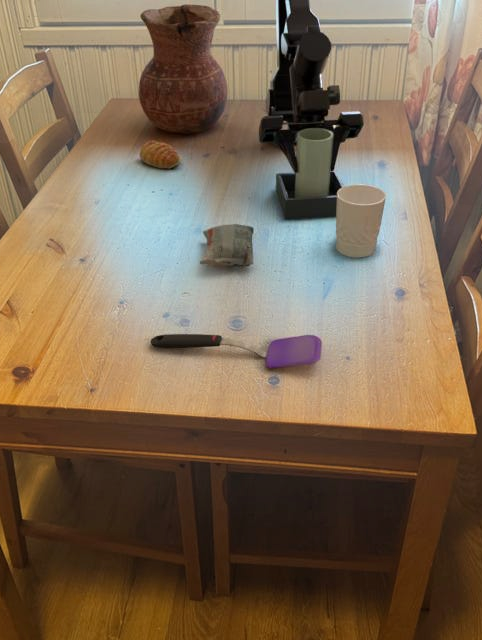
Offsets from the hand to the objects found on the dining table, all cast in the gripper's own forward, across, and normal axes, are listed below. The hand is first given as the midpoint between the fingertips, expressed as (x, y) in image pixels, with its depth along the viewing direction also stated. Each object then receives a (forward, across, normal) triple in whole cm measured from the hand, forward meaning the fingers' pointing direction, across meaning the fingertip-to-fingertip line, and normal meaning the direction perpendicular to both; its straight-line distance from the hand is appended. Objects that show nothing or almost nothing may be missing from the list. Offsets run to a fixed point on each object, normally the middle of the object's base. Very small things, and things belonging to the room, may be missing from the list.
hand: (314, 171), depth 126 cm
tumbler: (+4, 0, +6) cm, 7 cm away
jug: (-29, -22, +40) cm, 54 cm away
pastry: (-13, -28, +24) cm, 39 cm away
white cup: (+17, +4, -6) cm, 19 cm away
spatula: (+36, -19, -25) cm, 48 cm away
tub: (+4, 0, +6) cm, 7 cm away
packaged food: (+17, -18, -7) cm, 26 cm away
